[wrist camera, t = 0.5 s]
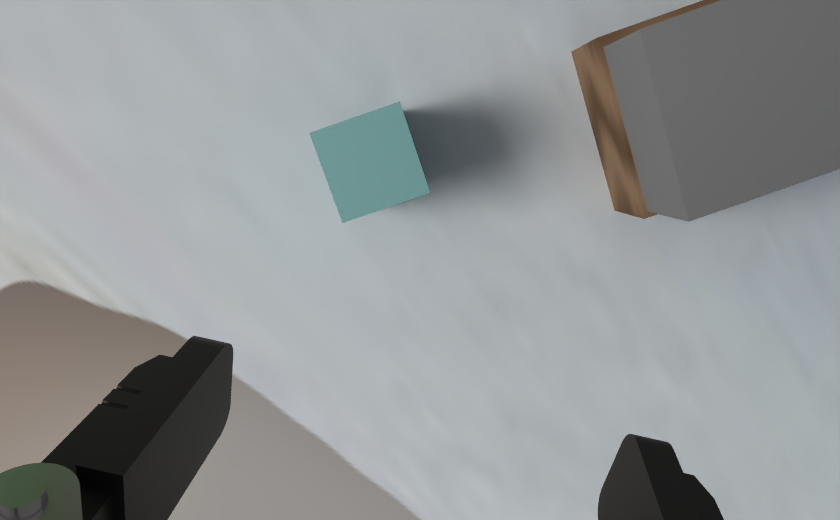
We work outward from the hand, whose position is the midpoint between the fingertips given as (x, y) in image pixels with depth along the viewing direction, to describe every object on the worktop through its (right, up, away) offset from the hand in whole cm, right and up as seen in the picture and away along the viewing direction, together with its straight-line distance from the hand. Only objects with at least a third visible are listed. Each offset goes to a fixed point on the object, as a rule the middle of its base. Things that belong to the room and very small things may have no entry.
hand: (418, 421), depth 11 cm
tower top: (+17, +13, +22) cm, 30 cm away
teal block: (-3, +10, +26) cm, 28 cm away
